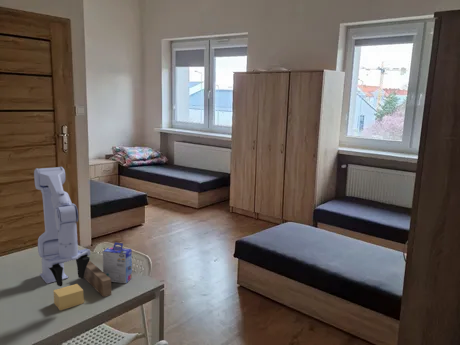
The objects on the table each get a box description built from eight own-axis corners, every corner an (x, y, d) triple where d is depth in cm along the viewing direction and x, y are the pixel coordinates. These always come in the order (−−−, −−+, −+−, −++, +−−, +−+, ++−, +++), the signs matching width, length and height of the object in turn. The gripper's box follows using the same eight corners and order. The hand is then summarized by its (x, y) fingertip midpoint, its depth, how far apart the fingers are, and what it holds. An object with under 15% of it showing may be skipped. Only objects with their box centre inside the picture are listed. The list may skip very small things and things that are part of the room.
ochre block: (54, 303, 139) (53, 290, 138) (77, 296, 144) (76, 283, 143) (60, 311, 134) (59, 297, 133) (83, 303, 139) (83, 290, 138)
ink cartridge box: (132, 277, 159) (132, 243, 156) (126, 284, 154) (125, 248, 151) (109, 275, 161) (108, 240, 158) (102, 281, 156) (101, 245, 153)
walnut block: (83, 277, 159) (82, 262, 158) (90, 275, 161) (90, 260, 159) (103, 297, 144) (102, 281, 142) (111, 294, 145) (111, 279, 144)
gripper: (53, 250, 124) (56, 292, 126) (94, 238, 135) (96, 277, 137) (41, 245, 128) (44, 286, 130) (82, 235, 139) (84, 272, 141)
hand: (70, 281), depth 134 cm, fingers open, 7 cm apart
